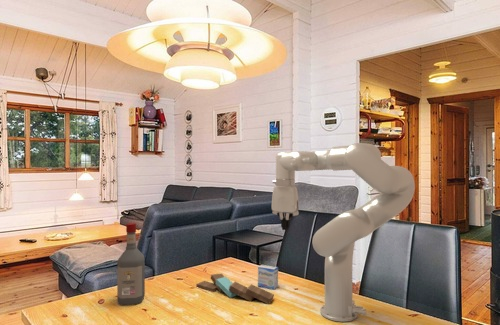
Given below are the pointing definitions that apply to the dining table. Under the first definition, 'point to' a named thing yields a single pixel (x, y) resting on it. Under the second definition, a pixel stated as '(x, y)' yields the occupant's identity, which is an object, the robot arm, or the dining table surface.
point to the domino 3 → (225, 286)
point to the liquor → (131, 271)
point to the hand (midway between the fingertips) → (285, 229)
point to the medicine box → (268, 277)
